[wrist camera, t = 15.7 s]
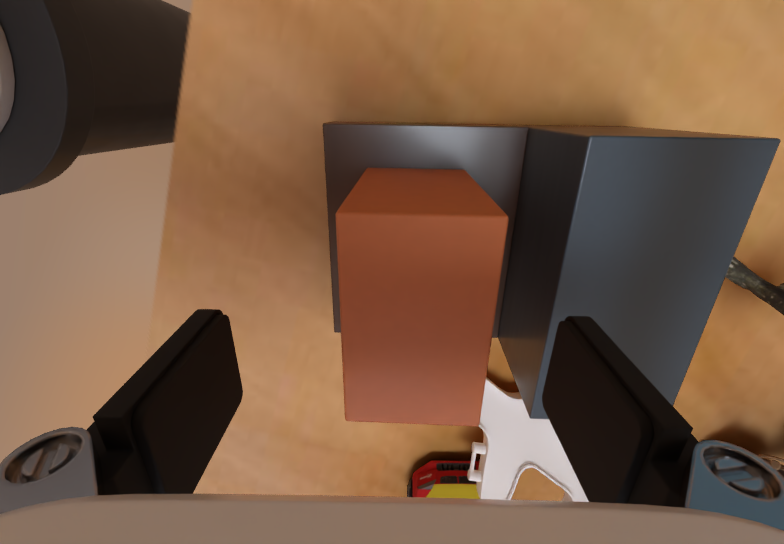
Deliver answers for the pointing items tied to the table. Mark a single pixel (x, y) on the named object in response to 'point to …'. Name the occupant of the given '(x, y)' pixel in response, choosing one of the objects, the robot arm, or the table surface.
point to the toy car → (443, 480)
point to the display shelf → (584, 227)
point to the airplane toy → (517, 449)
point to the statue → (756, 285)
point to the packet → (417, 295)
